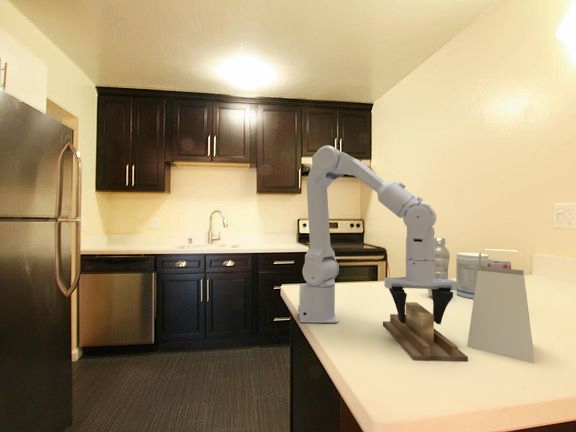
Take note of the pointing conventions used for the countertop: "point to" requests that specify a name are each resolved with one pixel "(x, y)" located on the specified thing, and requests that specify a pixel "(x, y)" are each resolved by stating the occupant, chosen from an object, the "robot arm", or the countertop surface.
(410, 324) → the brown wooden block
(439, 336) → the track
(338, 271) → the robot arm
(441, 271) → the plastic bottle
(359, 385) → the countertop surface
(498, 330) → the grater
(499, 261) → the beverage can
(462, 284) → the supplement tub
